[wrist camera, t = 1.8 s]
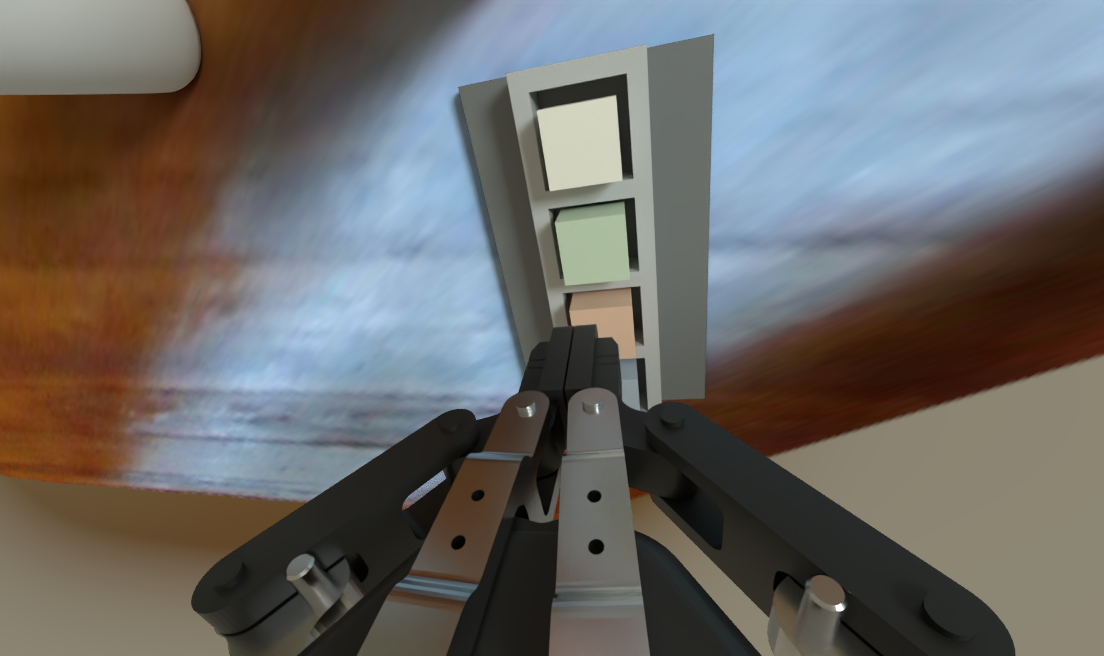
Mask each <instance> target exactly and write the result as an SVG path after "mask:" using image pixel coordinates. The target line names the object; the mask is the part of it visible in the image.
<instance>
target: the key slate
mask: <svg viewBox="0 0 1104 656" xmlns="http://www.w3.org/2000/svg"><path fill="white" fill-rule="evenodd" d="M620 368H621V378H622V401H623V402H624V403H625V404H626V405H627V406H629V407H631V408H633V409H635V410H639V411H640V402H639V388H638V375H637V362H636V358H635V359H620Z"/></svg>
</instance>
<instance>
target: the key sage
mask: <svg viewBox="0 0 1104 656" xmlns="http://www.w3.org/2000/svg"><path fill="white" fill-rule="evenodd" d="M555 226H556V232H557V239H558V245H559V251H560V257H561V263H562V269H563V275H564V282H565V286H568V285H579V284H589V283H600V282H610V281H621V280H630V271H629V257H628V244H627V231H626V218H625V205H624V201H622V202H614V203H607V204H599V205H592V206H585V207H577V208H570V209H562V210H561V211H560V213H559V215H558V217H557V219H556V222H555Z"/></svg>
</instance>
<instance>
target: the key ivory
mask: <svg viewBox="0 0 1104 656" xmlns="http://www.w3.org/2000/svg"><path fill="white" fill-rule="evenodd" d="M537 116H538V122H539V128H540V134H541V140H542V147H543V153H544V159H545V165H546V171H547V177H548V183H549V190H550V191H555V190H562V189H569V188H576V187H582V186H589V185H596V184H603V183H610V182H617V181H623V180H622V166H621V152H620V139H619V126H618V113H617V100H616V95H613V96H607V97H602V98H597V99H591V100H586V101H581V102H575V103H570V104H565V105H559V106H554V107H549V108H544V109H541V110H537Z"/></svg>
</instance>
